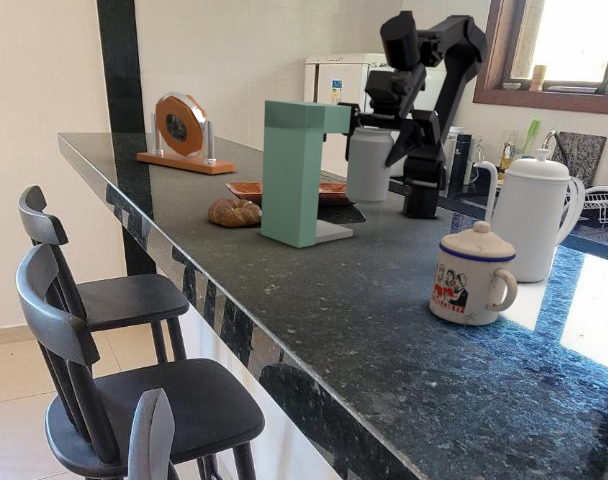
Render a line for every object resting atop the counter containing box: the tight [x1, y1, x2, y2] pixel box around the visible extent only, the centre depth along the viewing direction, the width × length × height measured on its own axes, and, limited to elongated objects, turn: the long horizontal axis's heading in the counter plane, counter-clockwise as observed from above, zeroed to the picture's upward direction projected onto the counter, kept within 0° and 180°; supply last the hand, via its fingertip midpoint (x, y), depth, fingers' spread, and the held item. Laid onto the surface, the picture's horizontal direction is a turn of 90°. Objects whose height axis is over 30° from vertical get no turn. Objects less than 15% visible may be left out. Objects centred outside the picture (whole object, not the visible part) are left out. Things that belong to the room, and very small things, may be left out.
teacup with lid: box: [429, 220, 519, 326], centre depth 65 cm, size 12×9×12 cm
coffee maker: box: [260, 99, 354, 249], centre depth 93 cm, size 14×10×22 cm
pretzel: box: [207, 197, 262, 228], centre depth 103 cm, size 12×11×4 cm
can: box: [344, 126, 395, 206], centre depth 92 cm, size 8×8×12 cm
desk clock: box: [136, 91, 236, 176], centre depth 154 cm, size 12×30×20 cm, turn 58°
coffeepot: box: [472, 148, 586, 283], centre depth 81 cm, size 11×25×19 cm, turn 117°
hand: (366, 162), depth 91 cm, fingers closed on can, 7 cm apart
